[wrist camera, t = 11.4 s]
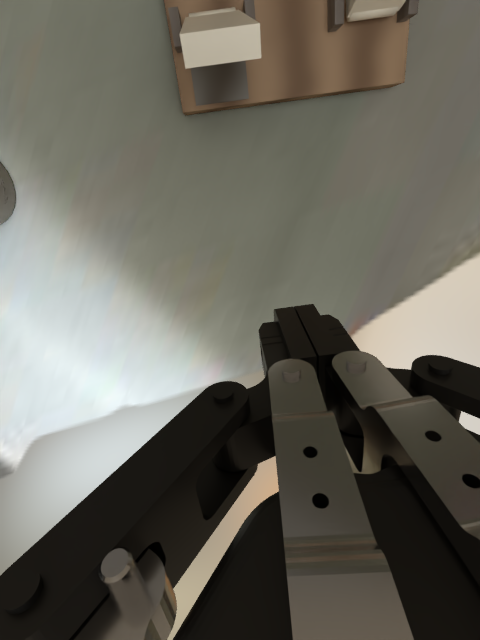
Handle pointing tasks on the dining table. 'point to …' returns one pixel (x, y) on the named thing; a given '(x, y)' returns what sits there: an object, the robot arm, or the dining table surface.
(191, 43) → the lever
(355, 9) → the lever
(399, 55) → the switch base
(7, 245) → the dining table surface
